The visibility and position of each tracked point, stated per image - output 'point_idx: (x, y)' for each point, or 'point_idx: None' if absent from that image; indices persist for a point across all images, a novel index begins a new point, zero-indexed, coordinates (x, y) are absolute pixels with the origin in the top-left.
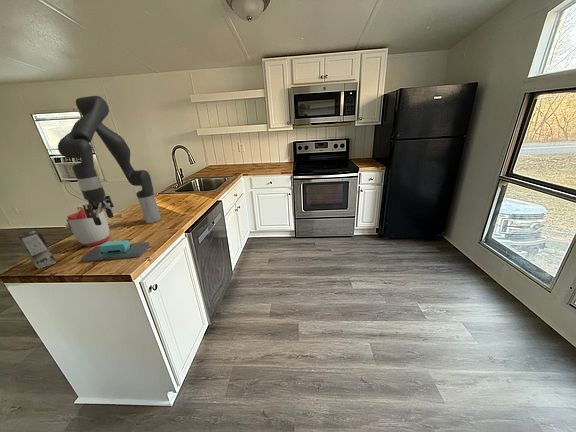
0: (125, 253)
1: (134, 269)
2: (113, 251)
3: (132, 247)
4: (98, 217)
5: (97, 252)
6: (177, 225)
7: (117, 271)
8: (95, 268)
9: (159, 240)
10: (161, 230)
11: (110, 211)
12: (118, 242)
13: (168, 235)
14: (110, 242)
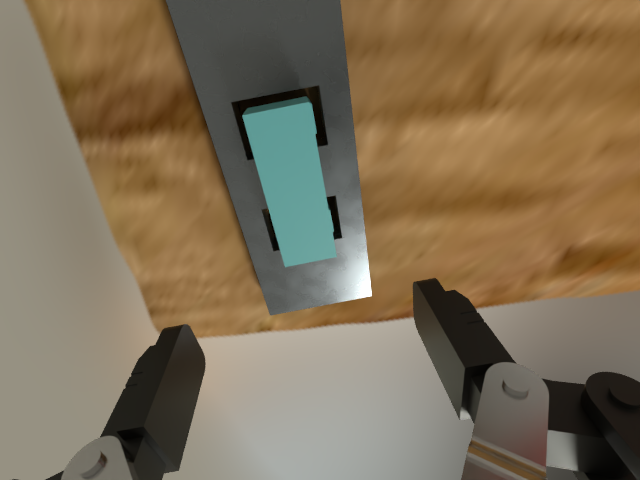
0: (254, 265)
1: None
2: None
3: None
4: (166, 467)
5: (245, 63)
6: (592, 272)
7: (150, 289)
8: (137, 161)
9: None
10: (556, 223)
11: (451, 402)
12: (305, 219)
13: (471, 294)
14: (306, 157)
